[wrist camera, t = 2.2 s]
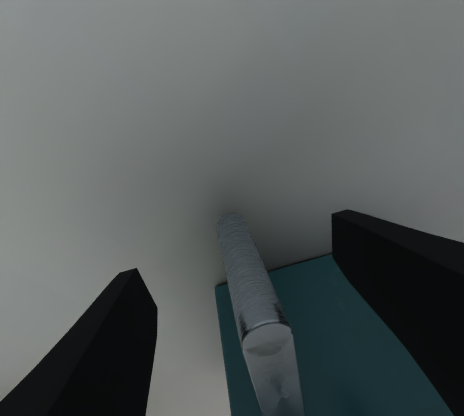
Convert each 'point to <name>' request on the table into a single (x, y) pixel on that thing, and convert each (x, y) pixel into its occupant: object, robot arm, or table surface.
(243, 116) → the table surface
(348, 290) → the teal cabinet door
